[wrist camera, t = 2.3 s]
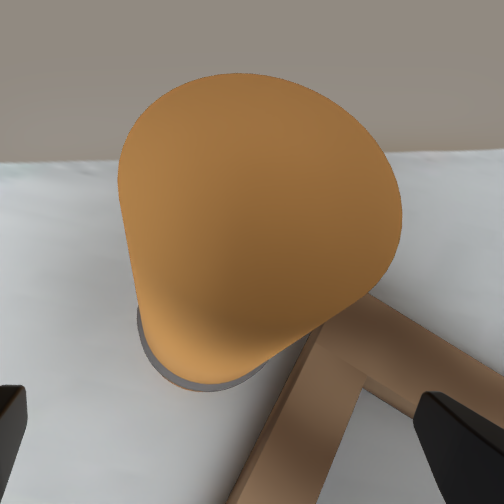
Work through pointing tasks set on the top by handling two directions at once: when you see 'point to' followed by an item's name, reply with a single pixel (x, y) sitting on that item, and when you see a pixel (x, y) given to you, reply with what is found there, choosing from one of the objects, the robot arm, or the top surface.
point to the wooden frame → (354, 396)
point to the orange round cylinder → (249, 222)
